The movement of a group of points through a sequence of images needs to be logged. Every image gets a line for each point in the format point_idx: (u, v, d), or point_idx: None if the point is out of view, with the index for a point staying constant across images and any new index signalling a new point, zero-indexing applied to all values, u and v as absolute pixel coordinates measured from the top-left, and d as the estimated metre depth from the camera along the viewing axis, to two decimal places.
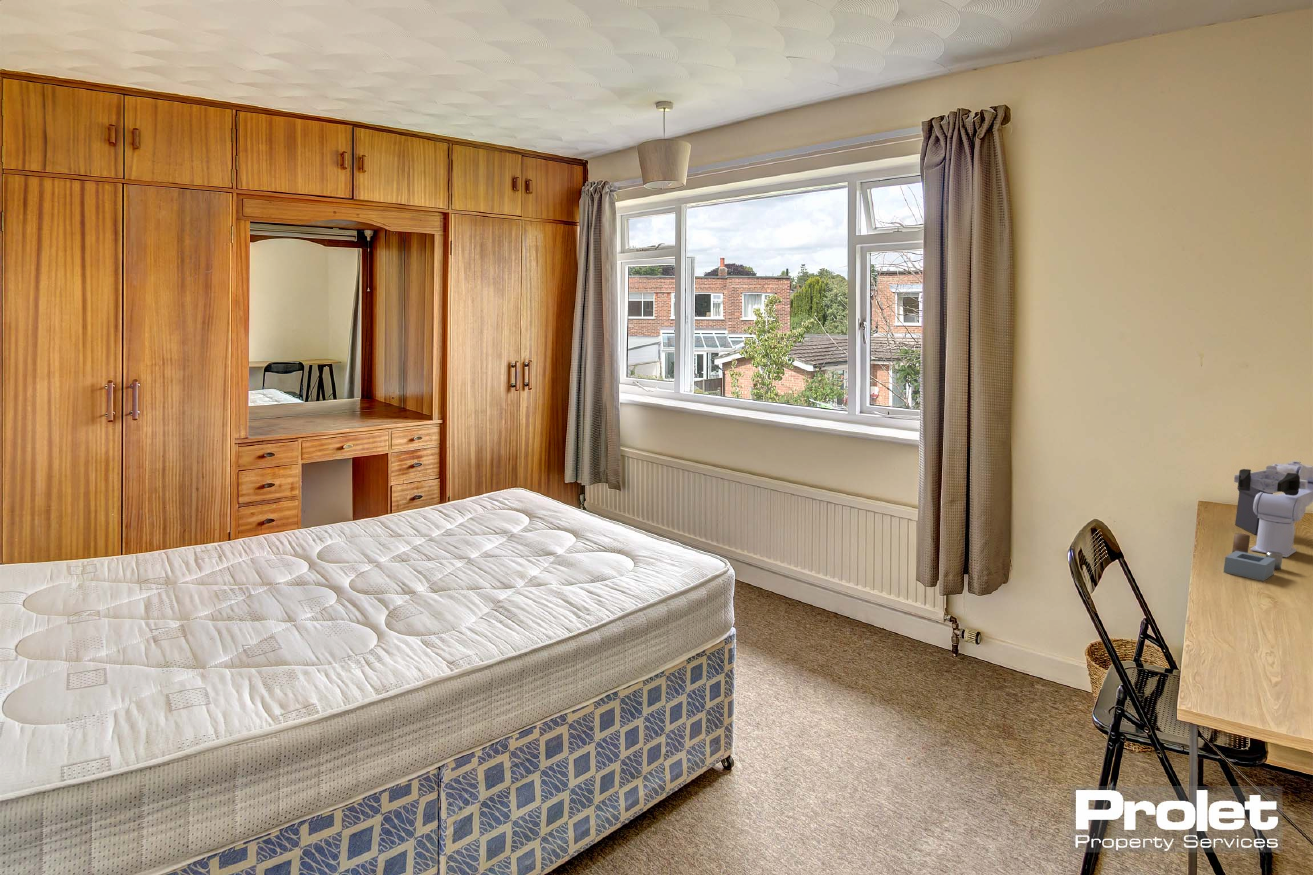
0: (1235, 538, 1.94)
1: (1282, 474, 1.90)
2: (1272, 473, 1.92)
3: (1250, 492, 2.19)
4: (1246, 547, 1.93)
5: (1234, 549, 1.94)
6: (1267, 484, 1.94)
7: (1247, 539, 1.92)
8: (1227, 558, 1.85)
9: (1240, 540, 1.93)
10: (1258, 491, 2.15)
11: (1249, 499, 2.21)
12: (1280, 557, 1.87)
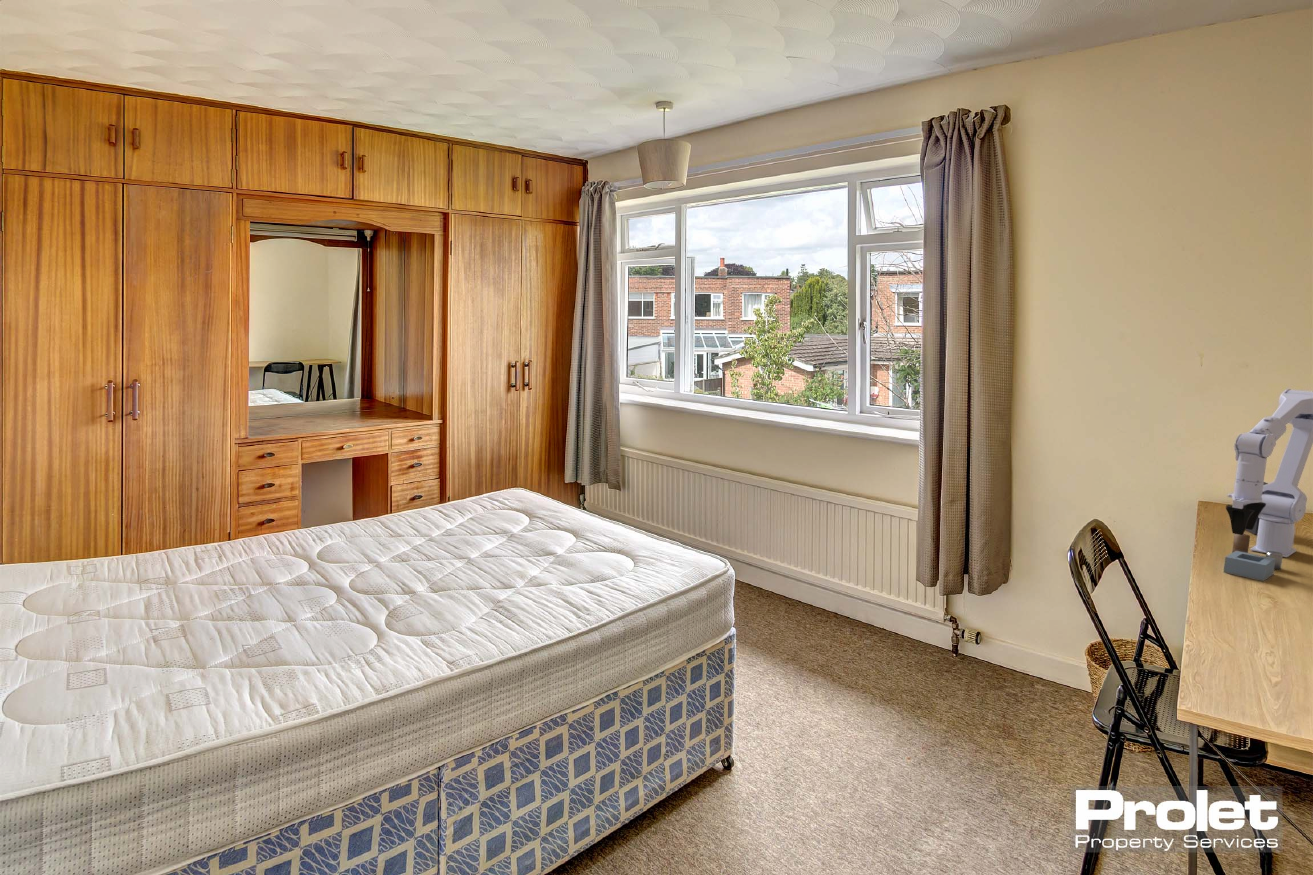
0: (1235, 538, 1.94)
1: None
2: None
3: None
4: (1246, 547, 1.93)
5: (1234, 549, 1.94)
6: None
7: (1247, 539, 1.92)
8: (1227, 558, 1.85)
9: (1240, 540, 1.93)
10: None
11: None
12: (1280, 557, 1.87)
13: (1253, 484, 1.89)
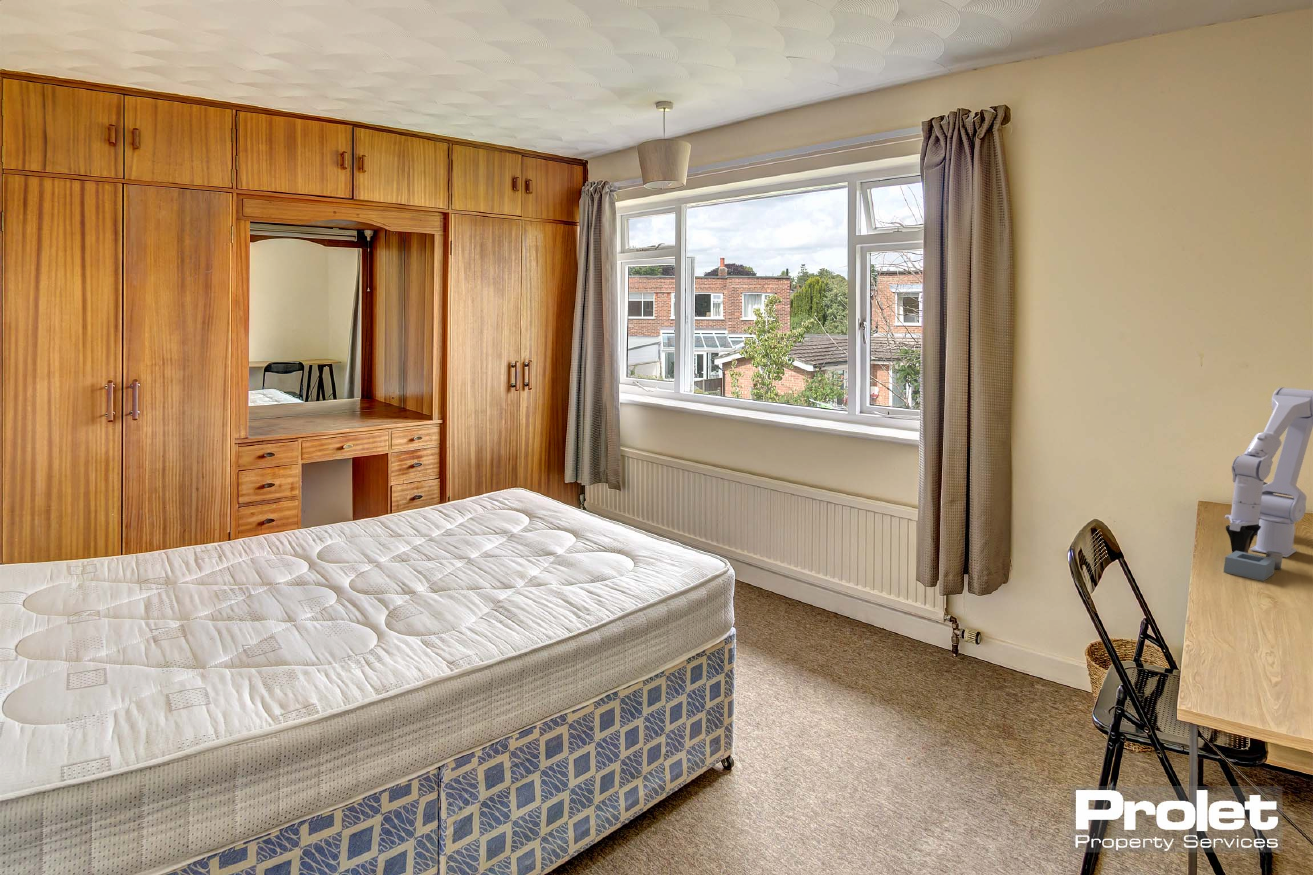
0: None
1: (1231, 521, 1.93)
2: None
3: None
4: (1246, 547, 1.93)
5: None
6: None
7: None
8: (1227, 558, 1.85)
9: None
10: None
11: None
12: (1280, 557, 1.87)
13: (1250, 506, 1.90)
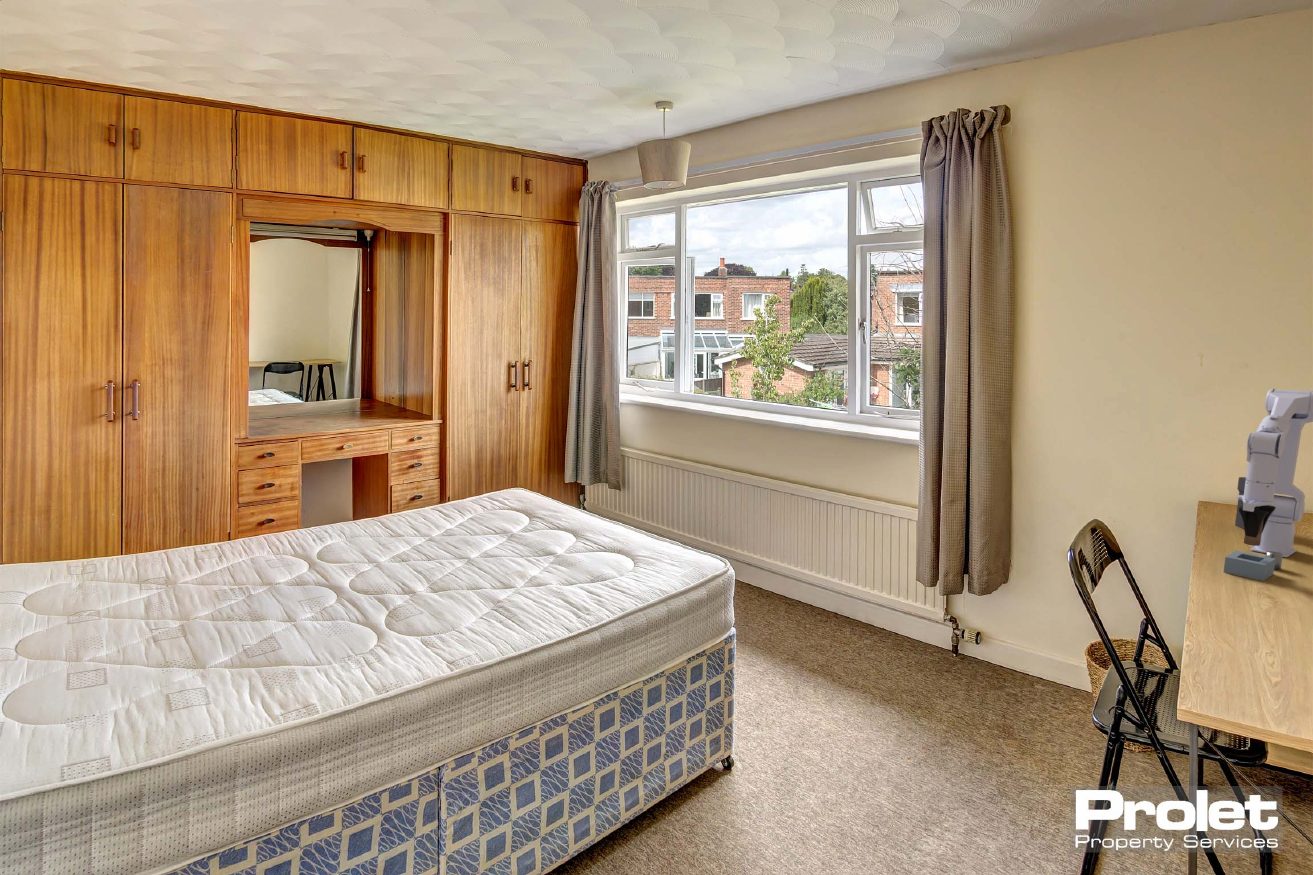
0: None
1: (1244, 501, 1.83)
2: None
3: None
4: (1260, 529, 1.82)
5: None
6: None
7: None
8: (1227, 558, 1.85)
9: None
10: None
11: None
12: (1280, 557, 1.87)
13: (1265, 485, 1.79)
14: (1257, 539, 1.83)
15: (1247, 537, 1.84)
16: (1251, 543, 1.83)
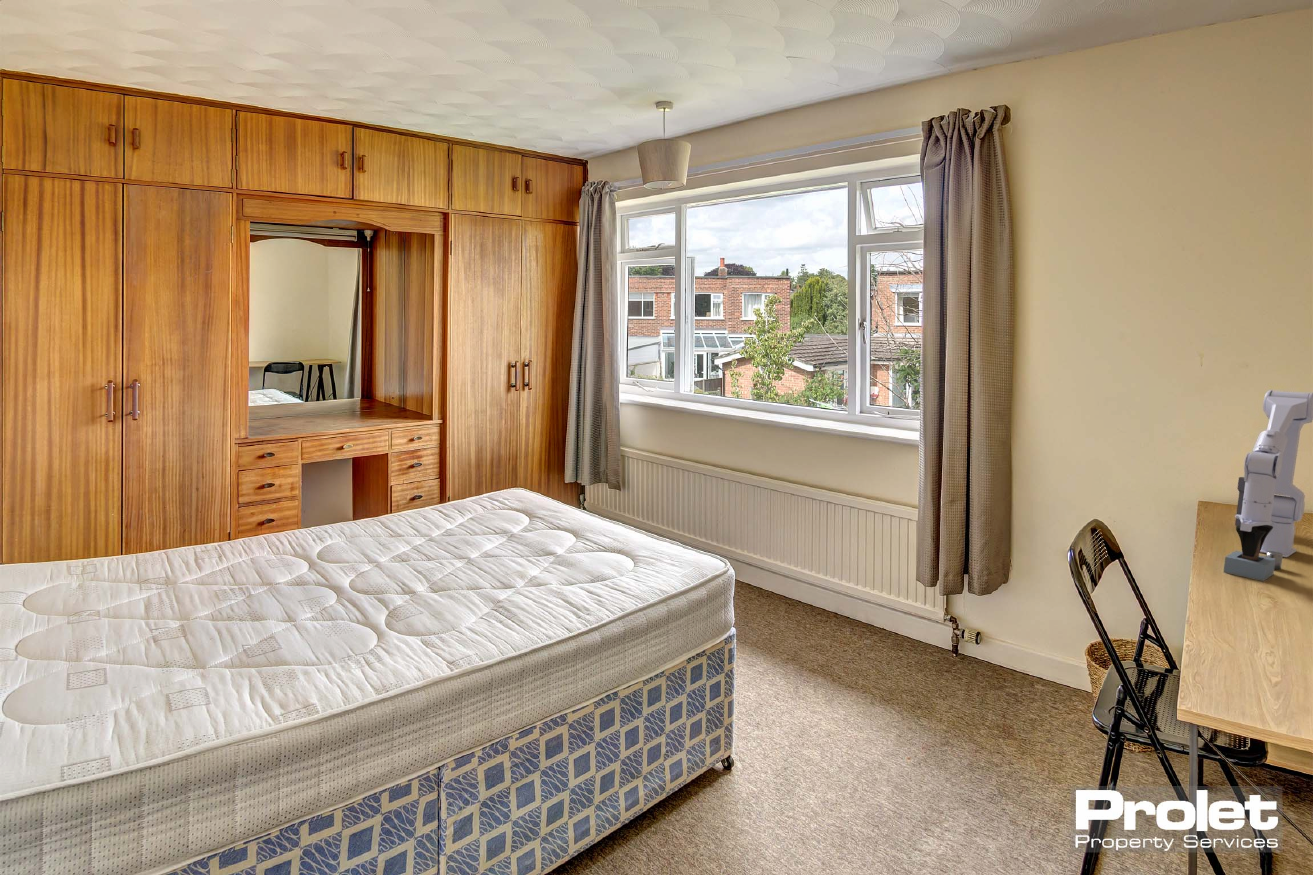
0: None
1: (1241, 521, 1.84)
2: None
3: None
4: (1257, 548, 1.83)
5: None
6: None
7: None
8: (1227, 558, 1.85)
9: None
10: None
11: None
12: (1280, 557, 1.87)
13: (1262, 505, 1.80)
14: (1254, 558, 1.83)
15: (1244, 556, 1.85)
16: None
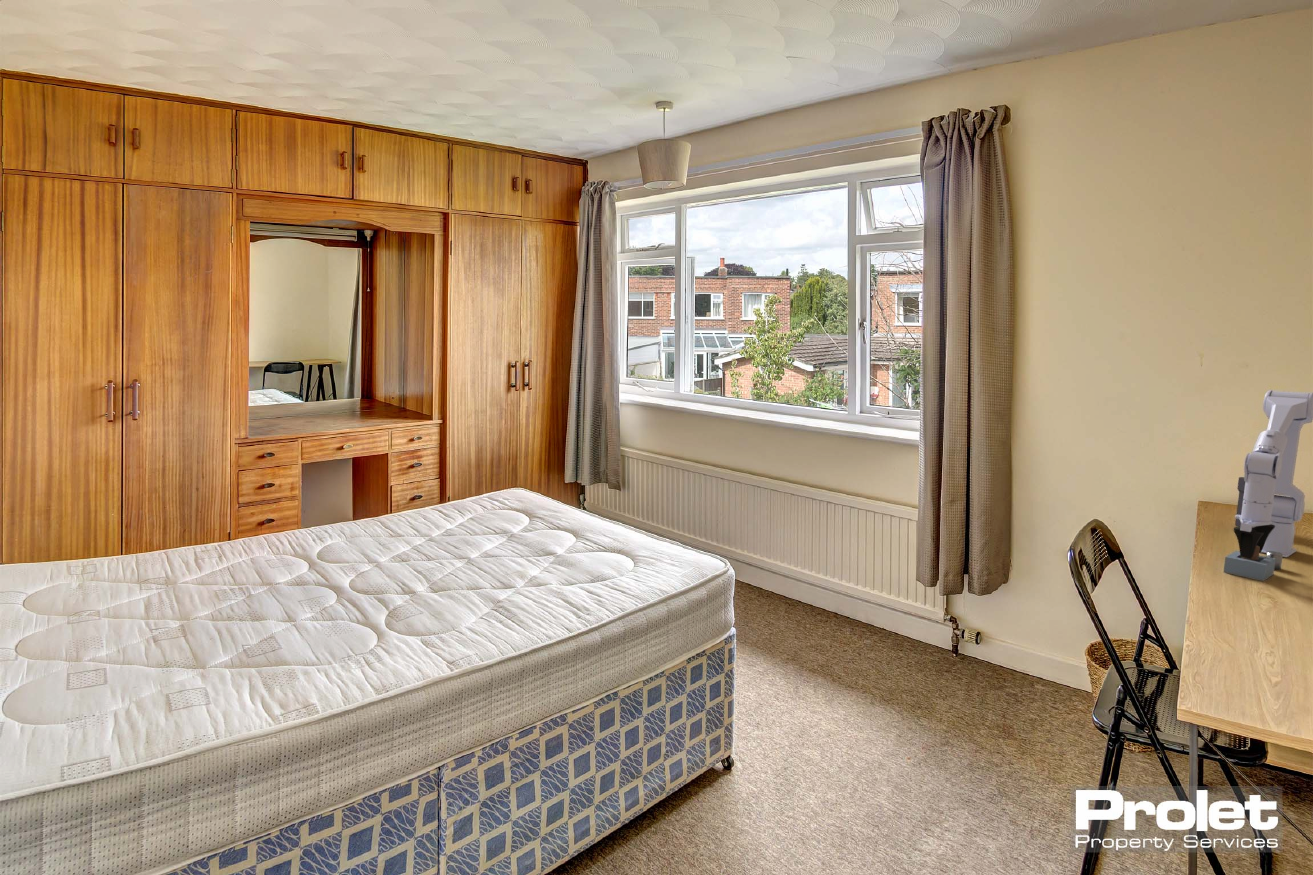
0: None
1: None
2: None
3: None
4: (1256, 559, 1.83)
5: None
6: None
7: (1257, 550, 1.83)
8: (1227, 558, 1.85)
9: None
10: None
11: None
12: (1280, 557, 1.87)
13: (1262, 506, 1.80)
14: None
15: None
16: None
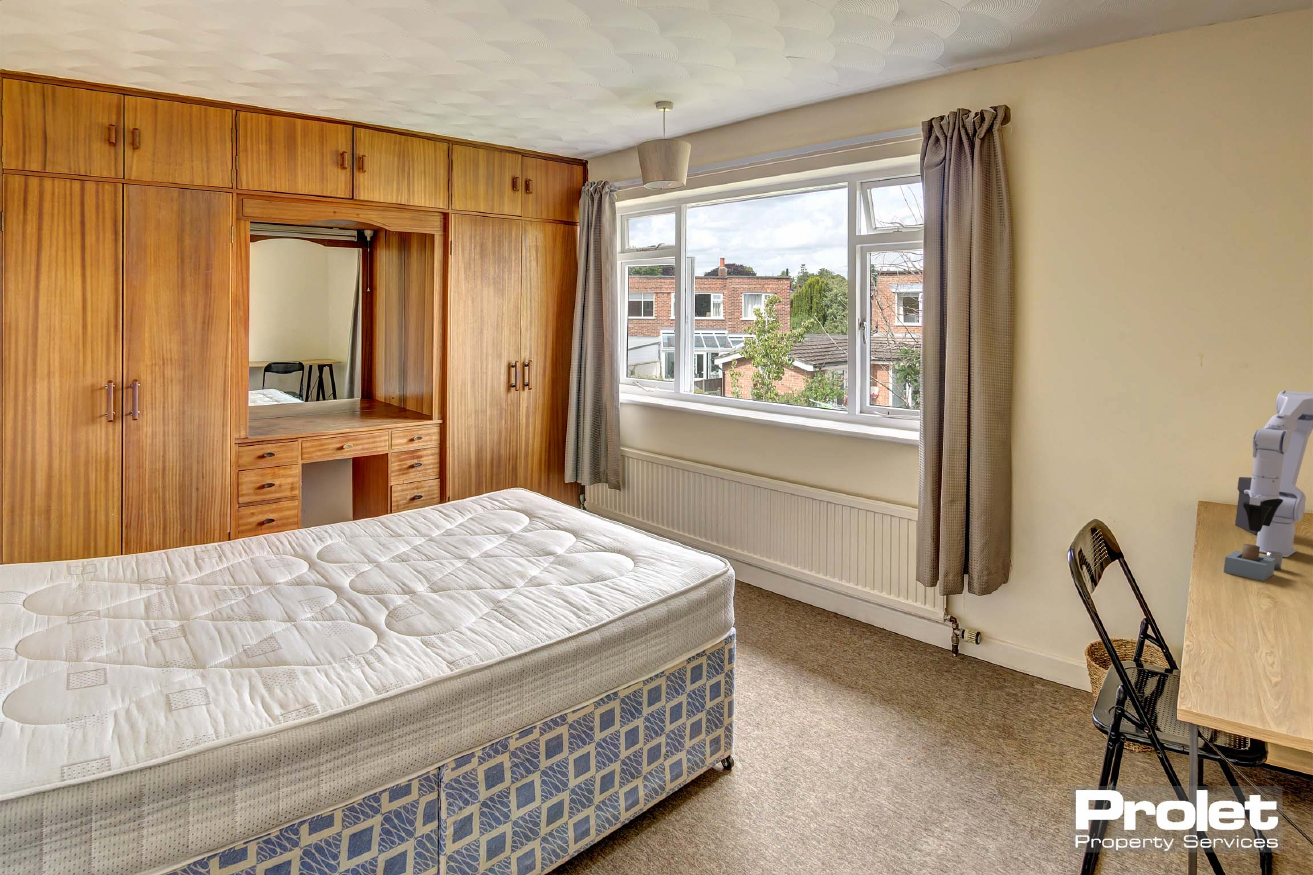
0: (1244, 549, 1.85)
1: (1250, 495, 1.90)
2: None
3: None
4: (1256, 559, 1.83)
5: None
6: None
7: (1257, 550, 1.83)
8: (1227, 558, 1.85)
9: (1250, 552, 1.84)
10: None
11: (1249, 499, 2.21)
12: (1280, 557, 1.87)
13: (1270, 480, 1.87)
14: None
15: None
16: None
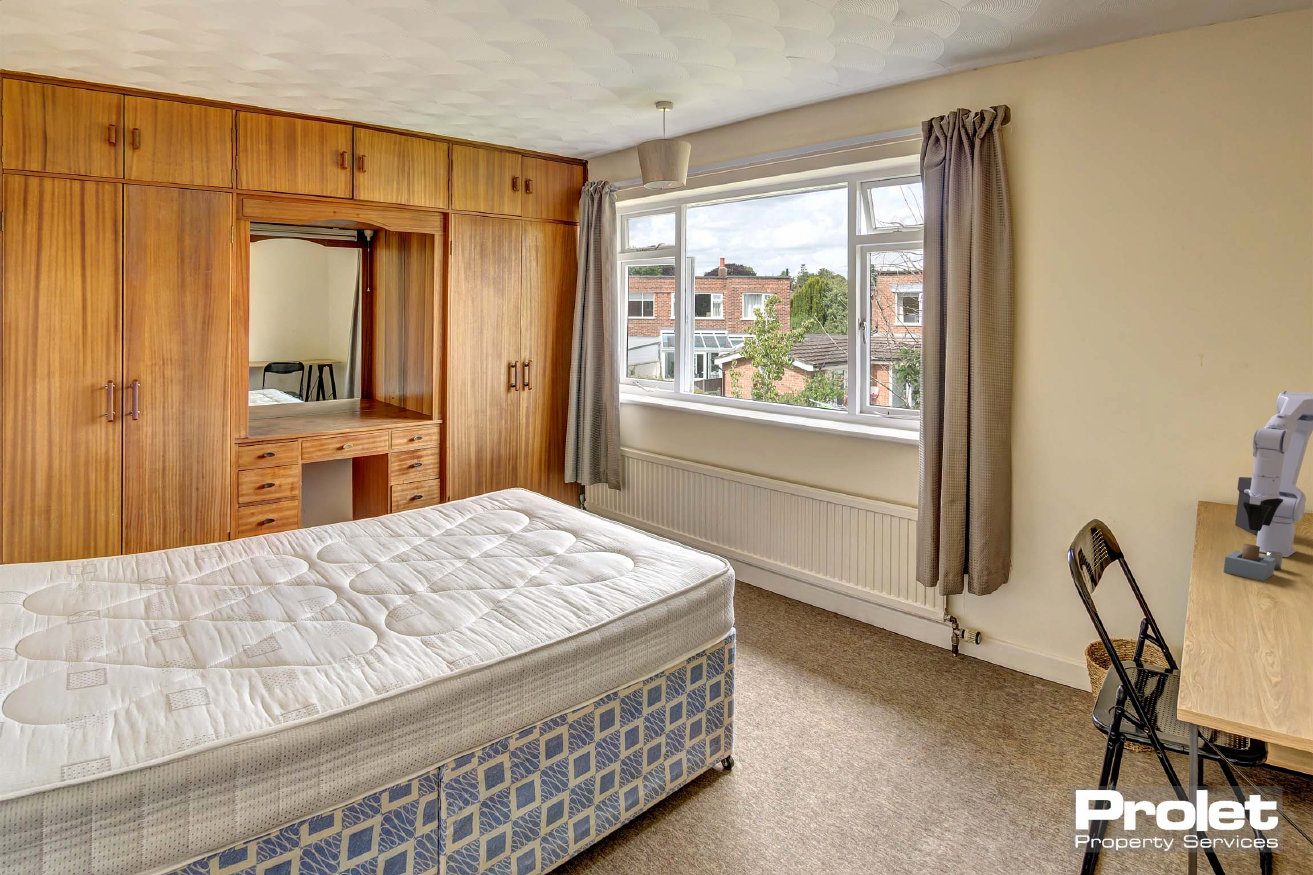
0: (1244, 549, 1.85)
1: None
2: None
3: None
4: (1256, 559, 1.83)
5: None
6: None
7: (1257, 550, 1.83)
8: (1227, 558, 1.85)
9: (1250, 552, 1.84)
10: None
11: (1248, 499, 2.21)
12: (1280, 557, 1.87)
13: (1270, 480, 1.87)
14: None
15: None
16: None
